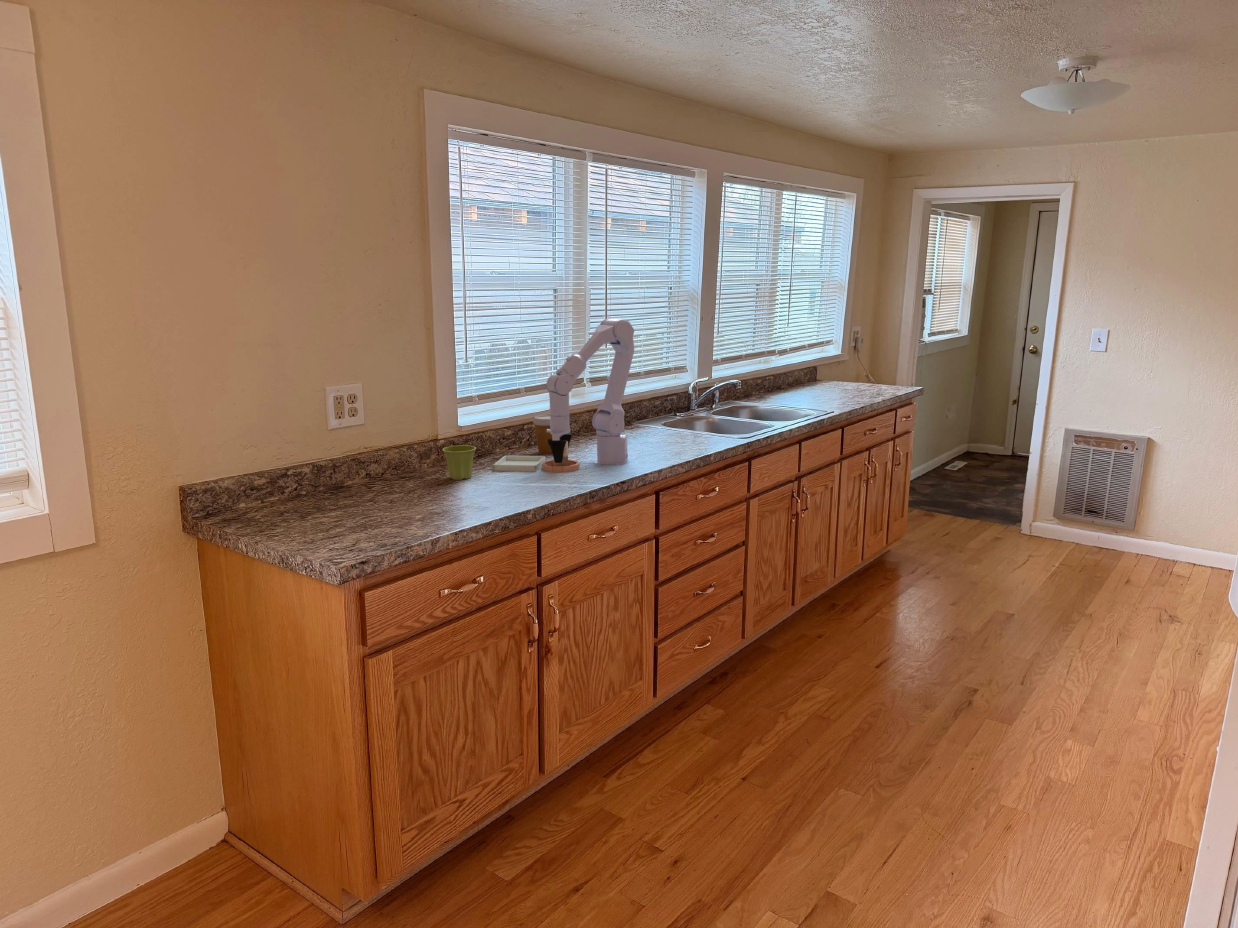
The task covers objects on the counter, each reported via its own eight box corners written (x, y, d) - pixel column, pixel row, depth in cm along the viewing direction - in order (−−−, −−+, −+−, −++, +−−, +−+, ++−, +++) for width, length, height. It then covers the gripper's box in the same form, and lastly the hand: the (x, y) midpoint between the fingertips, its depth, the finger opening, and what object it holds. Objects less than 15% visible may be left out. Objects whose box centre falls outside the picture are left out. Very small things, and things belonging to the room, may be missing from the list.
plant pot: (470, 482, 241) (468, 451, 239) (438, 480, 243) (437, 450, 241) (481, 474, 250) (480, 445, 248) (451, 473, 252) (450, 444, 250)
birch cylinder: (569, 466, 258) (568, 440, 256) (566, 469, 253) (566, 443, 252) (555, 466, 258) (554, 440, 257) (552, 469, 254) (551, 443, 252)
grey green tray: (545, 463, 265) (545, 456, 265) (536, 472, 252) (536, 465, 251) (505, 462, 267) (504, 455, 267) (493, 472, 253) (493, 464, 253)
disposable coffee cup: (564, 450, 285) (564, 414, 283) (560, 456, 276) (559, 419, 274) (536, 450, 286) (535, 414, 284) (531, 455, 277) (530, 419, 275)
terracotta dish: (582, 466, 261) (582, 459, 260) (576, 473, 250) (575, 467, 250) (546, 465, 262) (546, 459, 262) (539, 473, 251) (539, 466, 251)
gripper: (551, 411, 260) (552, 455, 263) (541, 418, 246) (542, 464, 249) (574, 411, 259) (575, 455, 262) (565, 419, 245) (566, 465, 248)
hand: (560, 460), depth 255 cm, fingers open, 7 cm apart
